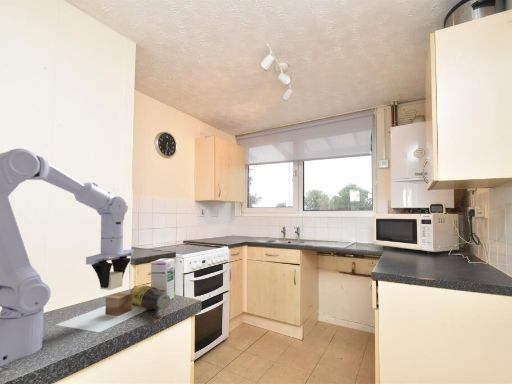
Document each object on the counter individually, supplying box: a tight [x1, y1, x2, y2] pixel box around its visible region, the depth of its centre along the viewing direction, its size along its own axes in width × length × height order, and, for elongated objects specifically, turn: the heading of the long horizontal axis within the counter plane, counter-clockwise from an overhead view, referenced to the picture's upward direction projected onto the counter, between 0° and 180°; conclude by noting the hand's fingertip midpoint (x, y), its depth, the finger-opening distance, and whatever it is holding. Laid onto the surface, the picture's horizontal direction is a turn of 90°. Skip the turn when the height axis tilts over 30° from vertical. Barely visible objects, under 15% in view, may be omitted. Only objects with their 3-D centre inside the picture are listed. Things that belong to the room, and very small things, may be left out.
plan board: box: [55, 304, 149, 333], centre depth 76 cm, size 18×16×1 cm
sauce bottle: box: [129, 284, 171, 310], centre depth 83 cm, size 6×6×20 cm
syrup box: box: [150, 257, 176, 303], centre depth 89 cm, size 6×6×14 cm
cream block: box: [99, 271, 124, 291], centre depth 76 cm, size 4×4×4 cm
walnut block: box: [105, 291, 133, 316], centre depth 79 cm, size 5×5×5 cm
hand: (111, 285), depth 76 cm, fingers closed on cream block, 4 cm apart
